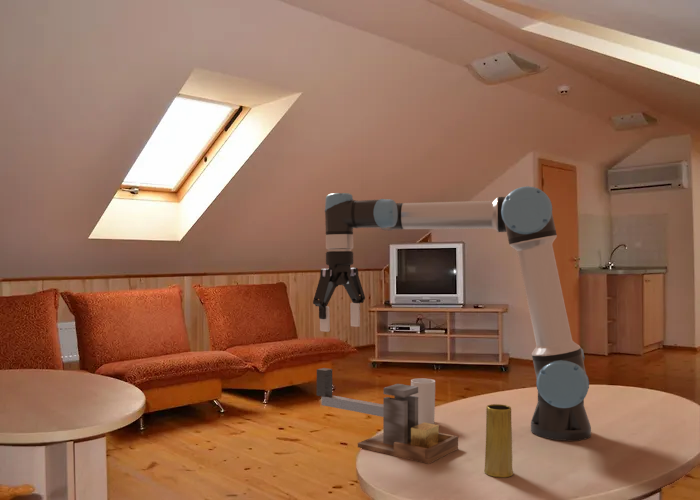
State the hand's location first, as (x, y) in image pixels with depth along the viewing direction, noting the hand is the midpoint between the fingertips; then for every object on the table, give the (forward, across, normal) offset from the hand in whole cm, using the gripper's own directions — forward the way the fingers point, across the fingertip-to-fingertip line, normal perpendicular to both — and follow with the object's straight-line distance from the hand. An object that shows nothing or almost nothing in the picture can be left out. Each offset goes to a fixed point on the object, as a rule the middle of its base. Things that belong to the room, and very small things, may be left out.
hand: (340, 329), depth 172 cm
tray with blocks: (+27, +4, +23) cm, 36 cm away
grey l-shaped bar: (+20, +4, +8) cm, 22 cm away
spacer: (+24, +4, +26) cm, 36 cm away
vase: (+28, +8, +48) cm, 56 cm away
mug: (+28, -19, +15) cm, 36 cm away
